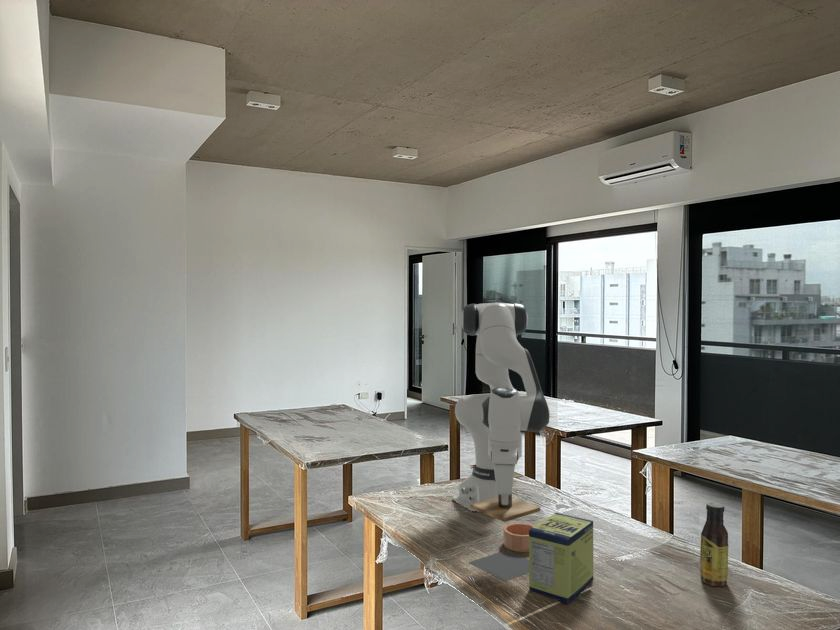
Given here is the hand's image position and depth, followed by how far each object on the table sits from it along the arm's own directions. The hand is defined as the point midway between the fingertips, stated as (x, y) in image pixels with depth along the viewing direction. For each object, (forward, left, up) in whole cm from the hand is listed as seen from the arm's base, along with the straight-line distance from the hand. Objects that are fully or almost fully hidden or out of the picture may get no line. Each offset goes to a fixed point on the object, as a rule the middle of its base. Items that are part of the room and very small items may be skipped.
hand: (505, 500), depth 163 cm
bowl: (-7, +13, -18) cm, 23 cm away
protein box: (+17, +3, -18) cm, 25 cm away
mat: (0, 0, -18) cm, 18 cm away
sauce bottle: (+38, +35, -18) cm, 55 cm away
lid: (0, 0, -2) cm, 2 cm away
